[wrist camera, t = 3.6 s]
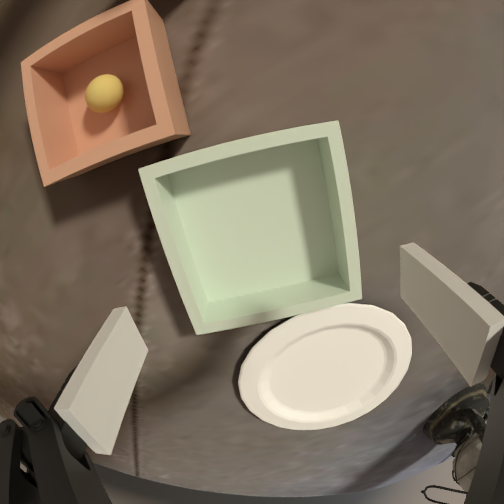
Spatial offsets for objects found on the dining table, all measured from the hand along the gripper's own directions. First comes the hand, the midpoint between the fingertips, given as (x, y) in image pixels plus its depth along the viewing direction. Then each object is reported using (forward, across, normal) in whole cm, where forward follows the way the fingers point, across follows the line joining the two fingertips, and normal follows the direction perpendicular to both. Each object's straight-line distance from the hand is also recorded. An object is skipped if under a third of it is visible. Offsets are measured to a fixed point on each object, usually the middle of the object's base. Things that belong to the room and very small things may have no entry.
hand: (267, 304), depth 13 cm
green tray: (+13, 0, 0) cm, 13 cm away
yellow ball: (+12, -9, +14) cm, 21 cm away
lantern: (+13, +26, -43) cm, 52 cm away
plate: (+14, +4, -19) cm, 24 cm away
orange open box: (+13, -9, +14) cm, 21 cm away
